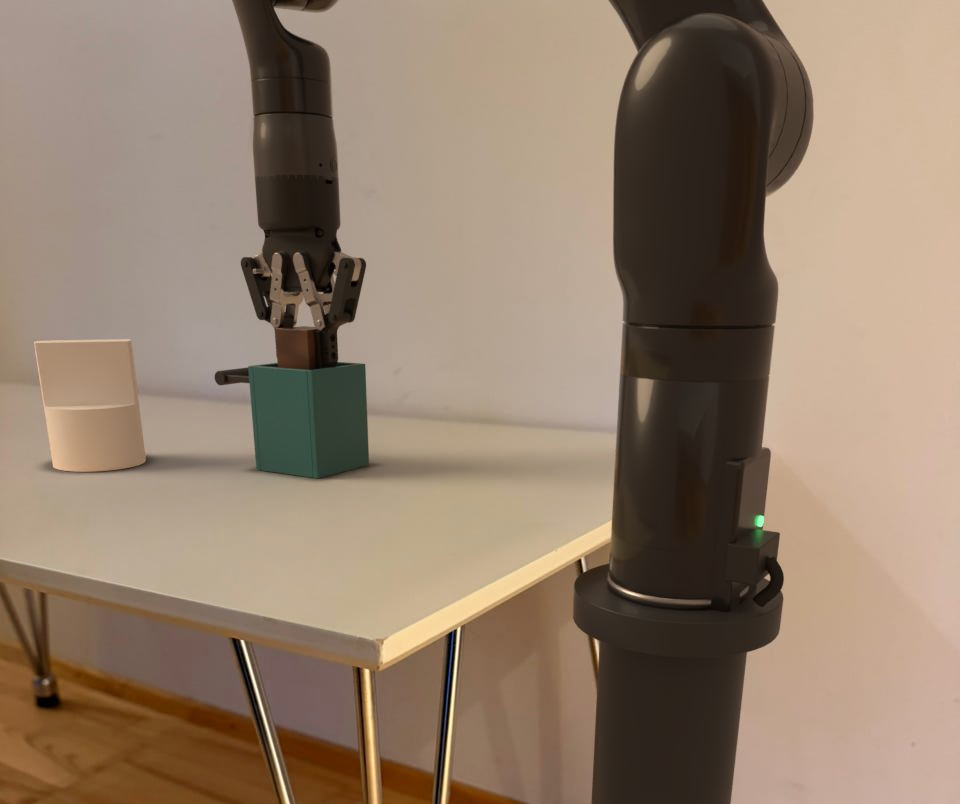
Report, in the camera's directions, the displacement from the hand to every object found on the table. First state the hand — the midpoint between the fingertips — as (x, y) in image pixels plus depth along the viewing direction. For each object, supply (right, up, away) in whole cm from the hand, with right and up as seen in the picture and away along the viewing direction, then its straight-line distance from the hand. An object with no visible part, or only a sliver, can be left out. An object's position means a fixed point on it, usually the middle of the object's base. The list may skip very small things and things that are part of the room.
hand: (307, 368), depth 95 cm
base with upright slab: (-22, -8, +5) cm, 24 cm away
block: (0, 0, 0) cm, 0 cm away
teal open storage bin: (+3, -5, 0) cm, 6 cm away
